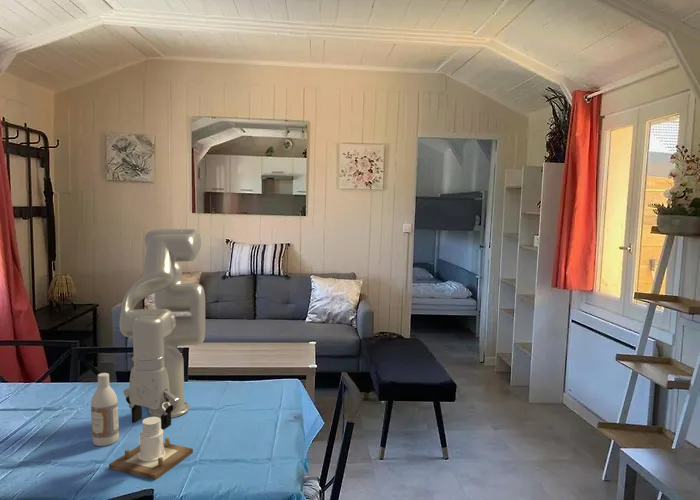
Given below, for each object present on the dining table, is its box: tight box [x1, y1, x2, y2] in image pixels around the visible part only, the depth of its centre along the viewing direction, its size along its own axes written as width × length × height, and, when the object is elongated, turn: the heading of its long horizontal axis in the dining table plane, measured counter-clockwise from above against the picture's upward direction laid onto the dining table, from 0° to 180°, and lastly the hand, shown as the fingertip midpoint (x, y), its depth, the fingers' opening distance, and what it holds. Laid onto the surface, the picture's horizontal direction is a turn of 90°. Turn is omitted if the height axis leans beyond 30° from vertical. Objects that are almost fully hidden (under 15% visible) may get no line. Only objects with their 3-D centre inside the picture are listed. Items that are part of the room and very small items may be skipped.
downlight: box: [138, 416, 165, 461], centre depth 143 cm, size 8×7×10 cm
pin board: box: [108, 437, 194, 481], centre depth 143 cm, size 15×15×3 cm
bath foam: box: [90, 372, 120, 447], centre depth 153 cm, size 7×7×20 cm
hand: (151, 424), depth 143 cm, fingers open, 9 cm apart
